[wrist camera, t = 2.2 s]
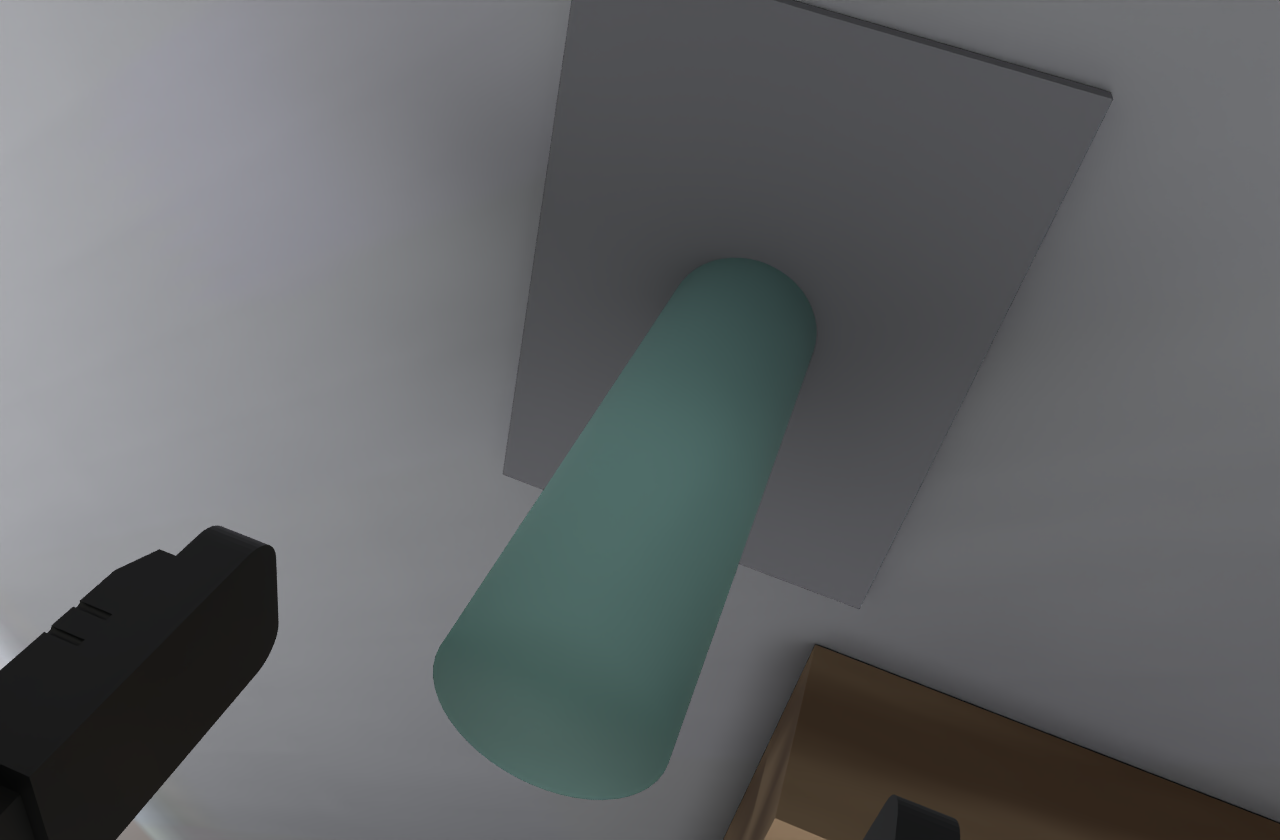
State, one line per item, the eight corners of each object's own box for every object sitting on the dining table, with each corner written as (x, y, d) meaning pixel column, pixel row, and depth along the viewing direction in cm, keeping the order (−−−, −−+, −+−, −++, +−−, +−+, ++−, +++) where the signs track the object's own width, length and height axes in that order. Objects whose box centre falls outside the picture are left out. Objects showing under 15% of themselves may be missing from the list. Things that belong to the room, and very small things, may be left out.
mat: (588, -60, 17) (579, -56, 16) (1111, 92, 15) (1112, 99, 15) (509, 465, 24) (502, 474, 23) (861, 597, 22) (859, 609, 22)
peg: (687, 237, 19) (442, 581, 11) (836, 287, 18) (697, 683, 10) (655, 364, 20) (425, 740, 12) (791, 412, 20) (642, 832, 12)
